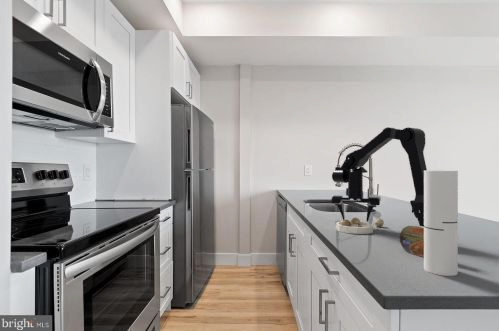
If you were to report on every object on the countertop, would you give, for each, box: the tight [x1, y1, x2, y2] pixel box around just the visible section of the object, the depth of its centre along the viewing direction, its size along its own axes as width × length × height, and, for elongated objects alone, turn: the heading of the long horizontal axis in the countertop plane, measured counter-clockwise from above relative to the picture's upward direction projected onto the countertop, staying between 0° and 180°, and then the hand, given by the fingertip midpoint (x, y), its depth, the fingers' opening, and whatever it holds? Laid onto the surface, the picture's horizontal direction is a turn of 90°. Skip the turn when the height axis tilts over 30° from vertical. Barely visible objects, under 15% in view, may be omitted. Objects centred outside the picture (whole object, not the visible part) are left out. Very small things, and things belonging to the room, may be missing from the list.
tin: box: [399, 225, 424, 259], centre depth 88 cm, size 15×3×8 cm, turn 25°
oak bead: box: [350, 217, 361, 225], centre depth 127 cm, size 4×4×4 cm
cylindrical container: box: [423, 169, 459, 277], centre depth 76 cm, size 7×7×25 cm
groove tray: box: [335, 220, 374, 235], centre depth 123 cm, size 14×14×2 cm
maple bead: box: [374, 217, 385, 228], centre depth 130 cm, size 4×4×4 cm
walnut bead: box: [342, 219, 351, 227], centre depth 122 cm, size 4×4×4 cm
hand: (355, 220), depth 127 cm, fingers open, 9 cm apart
